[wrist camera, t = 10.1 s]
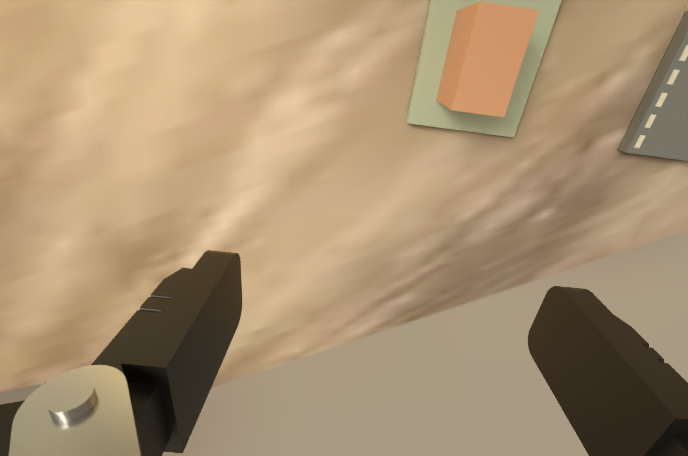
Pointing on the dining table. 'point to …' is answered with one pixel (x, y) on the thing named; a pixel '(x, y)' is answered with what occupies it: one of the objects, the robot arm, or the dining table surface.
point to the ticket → (664, 106)
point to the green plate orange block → (479, 63)
